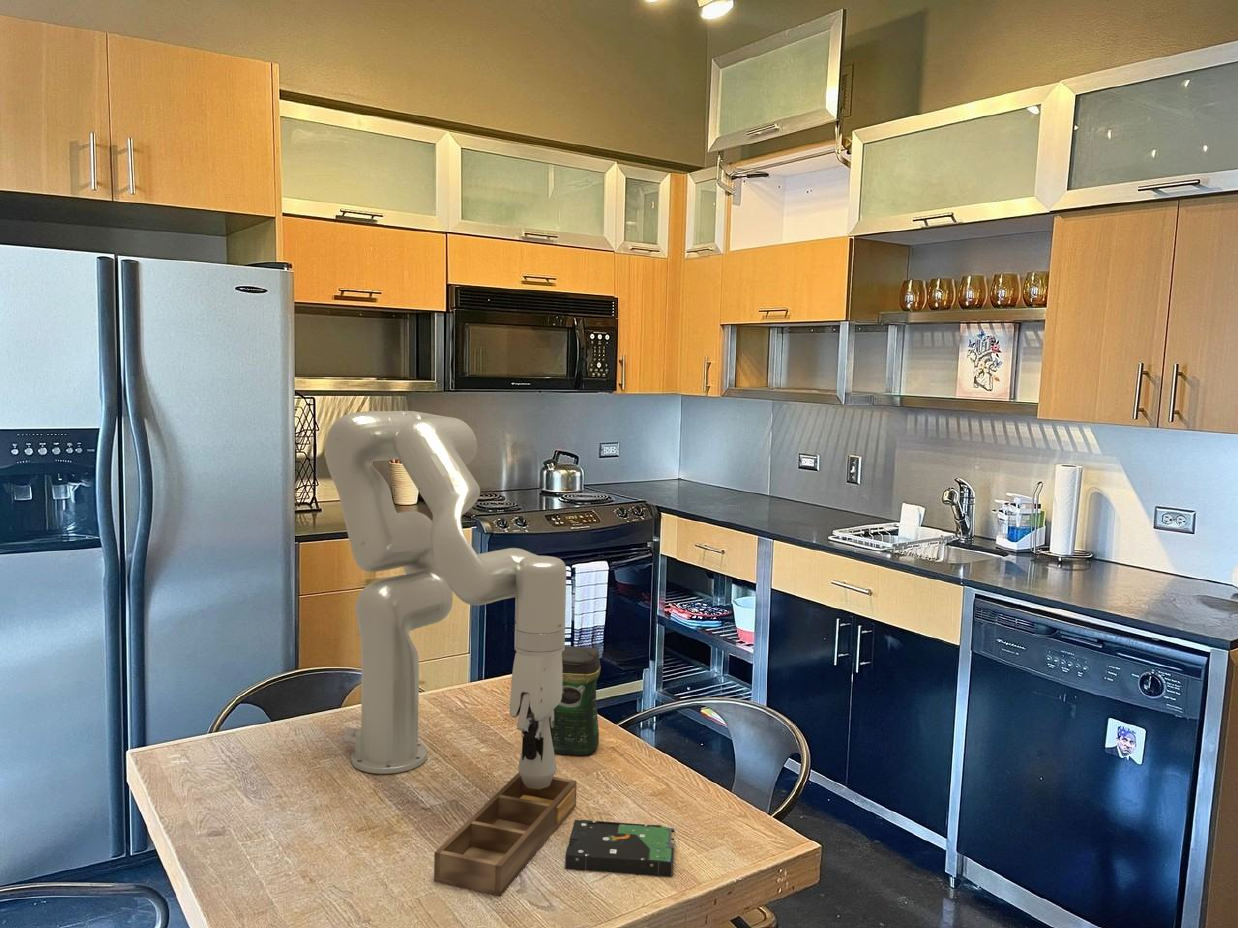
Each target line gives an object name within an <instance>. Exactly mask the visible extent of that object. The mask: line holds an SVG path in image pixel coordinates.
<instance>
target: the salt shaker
mask: <svg viewBox="0 0 1238 928" xmlns="http://www.w3.org/2000/svg"><path fill="white" fill-rule="evenodd" d="M552 713H553V707H551V708H550V711H549V713H548V714H547V715H546V716H545V717H544V718H542V731H541V737H543V738H544V740H543V756H542V762H541V756H540V755H539V753H538V752H537V756H536V758H535V759H534V760H529V759H527V758H526V757H524V760H522V750H521V751H520V756H519V761H518V766H517V768H518V769H517V770H518V772H519V773H520V775H521V778H522V780H523V783H524V784H525V785H526V786H527V787H528V788H533V789H542V788H545V787H548V786H550V784H551V781H552V779H553V777H555V775H556V773H557V770H558V769H557V768H558V766H557V761H556V755H555V752H554V749H553V743H552V737H551V731H550V724H549V717H551V715H552ZM530 716H532V717H534V714H532V713H530ZM529 723H530V724H533V725H534V726H535V728H536V722H530V721H529Z"/></svg>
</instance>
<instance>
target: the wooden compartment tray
mask: <svg viewBox="0 0 1238 928" xmlns="http://www.w3.org/2000/svg"><path fill="white" fill-rule="evenodd" d="M577 785H578V784H577V780H574V779H569V778H562V777H558V776H554V777H553V779H552V781H551V784H550V786H548V787H545V788H542V789H533V788H528V787H527V786H526V785H525V784H524V783H523V780H522V778H521V775H520V773H519V771H518V772H517V773H516V774H515V775H514V776H512V777H511V779H510V780H509V781H508V782H507V783H506V784H505V785H504V786H502V787H501V788H500V790H499V791H497V792H496V793H495V794H494V795H493V796H491V798H490V799H489V800H487V802H485V804H484V805H482V806H481V808H479V809H478V810H477V811H476V812H475V813H474V814H473V815H472V816H471V817H470V818H469V819H468V820H466V822H464V824H462V825H461V827H459V828H458V829H457V830H456V831H455V832H454V834H452V835H451V836H450V837H449V838H447V840H446V841H445V842H444V843H443V844H442V845H440V846H439V848H437V849H436V850H435V851H434V863H433V865H434V867H433V869H434V870H433V882H436V883H439V884H440V883H441V884H446V885H449V886H455V887H458V888H463V889H467V890H472V891H475V892H480V893H485V894H490V895H493V896H499V897H501V896H503V894H504V893H505V891H506V890H508V888H509V887H510V886H511V884H512V883H513V882H514V880H515V879H516V878H518V876H519V874H520V873H521V872H522V871H523V870H524V869H525V868H526V866H527V865H528V864H529V863H530V862H531V860H532V859H533V858H534V856H535V855H536V854H537V853H538V852H539V850H540V849H541V848H542V847H543V846H544V845H545V843H546V842H547V841H548V840H549V838H550V837H552V835H553V833H555V831H556V830H557V829H558V828H559V827H560V826H561V824H562V823H563V822H564V821H565V820H566V818H567V817H568V815H570V813H572V811H573V810H574V809H575V807H576V806H577Z"/></svg>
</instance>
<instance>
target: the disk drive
mask: <svg viewBox="0 0 1238 928" xmlns="http://www.w3.org/2000/svg"><path fill="white" fill-rule="evenodd" d="M675 831H676V830H675V827H670V826H662V825H658V824H643V823H641V824H640V823H628V822H616V821H615V822H614V821H603V820H590V819H589V820H588V819H575V820H574V822H573V825H572V830H571V832H570V835H569V836H570V837H569V841H568V845H567V847H566V852H565V857H564V858H565V862H564V869H565V870H573V871H580V872H581V871H582V872H583V871H584V872H585V871H588V872H600V873H602V872H603V873H611V874H612V873H614V874H628V875H639V876H640V875H643V876H650V877H665V878H667V877H668V878H672V877H673V876H674V873H673V872H674V860H675V859H674V858H675V857H674V855H675V835H676V832H675Z"/></svg>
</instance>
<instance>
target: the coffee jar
mask: <svg viewBox="0 0 1238 928" xmlns="http://www.w3.org/2000/svg"><path fill="white" fill-rule="evenodd" d="M562 667H563V688H562V699H561V701H560V703H559V704H558V705H557V706H556V707H555V713H554V726H553V728H552V729H553V749H554V753H558V754H563V755H564V754H566V755H579V756H580V755H589V754H591V753H592V752H595V751H596V750H597V749H598V747H599V744H600V741H599V740H600V737H599V735H600V731H599V730H600V729H599V720H598V718H599V717H598V709H597V706H598V705H597V681H598V679H599V677H600V675H601V661H600V653H599V649H598V648H597V647H585V646H584V647H583V646H570V645H565V649H564V651H562Z"/></svg>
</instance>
